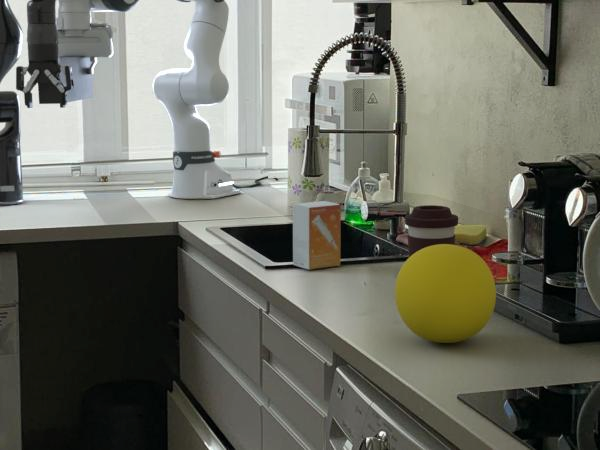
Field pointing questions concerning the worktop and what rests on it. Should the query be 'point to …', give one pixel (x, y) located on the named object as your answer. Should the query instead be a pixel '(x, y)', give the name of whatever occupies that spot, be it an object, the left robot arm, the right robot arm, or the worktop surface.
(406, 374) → the worktop surface
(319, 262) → the small box
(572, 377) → the worktop surface
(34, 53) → the left robot arm
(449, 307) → the toy
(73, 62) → the box
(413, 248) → the coffee cup
